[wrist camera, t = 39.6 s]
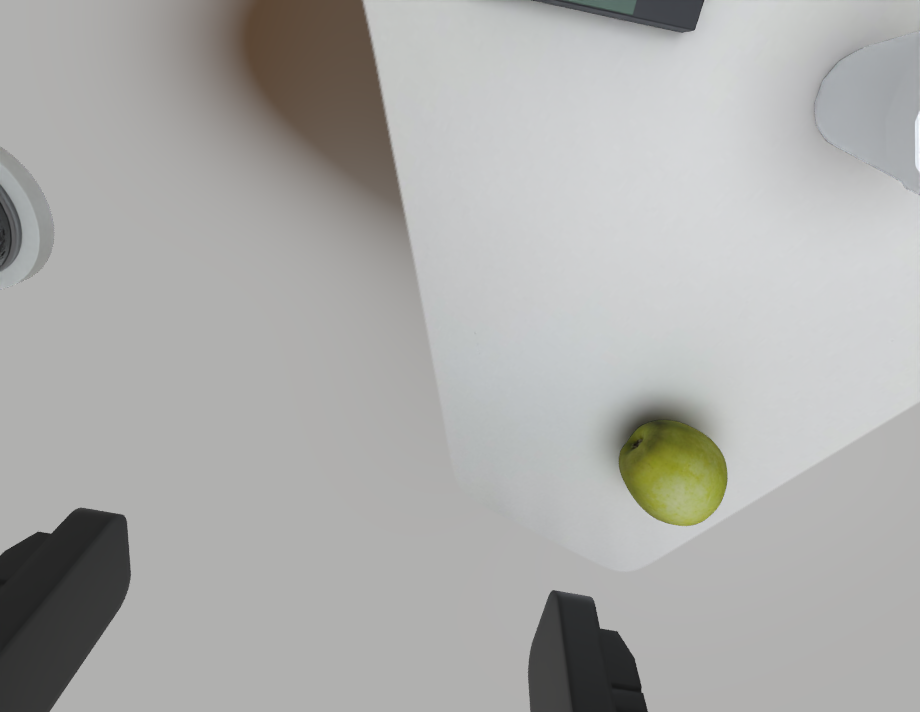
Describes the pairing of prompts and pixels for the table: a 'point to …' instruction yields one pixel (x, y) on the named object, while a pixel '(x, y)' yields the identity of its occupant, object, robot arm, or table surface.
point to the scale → (642, 11)
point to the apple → (674, 472)
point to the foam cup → (876, 107)
